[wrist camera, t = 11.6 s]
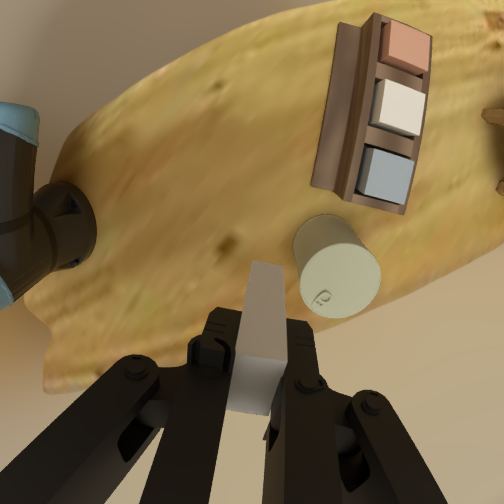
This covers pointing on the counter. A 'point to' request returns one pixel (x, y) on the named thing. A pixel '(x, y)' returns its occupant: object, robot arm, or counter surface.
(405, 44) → the key terracotta
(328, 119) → the brown block holder tray
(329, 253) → the can
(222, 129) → the counter surface
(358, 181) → the grey square block
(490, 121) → the planter
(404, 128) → the key white
